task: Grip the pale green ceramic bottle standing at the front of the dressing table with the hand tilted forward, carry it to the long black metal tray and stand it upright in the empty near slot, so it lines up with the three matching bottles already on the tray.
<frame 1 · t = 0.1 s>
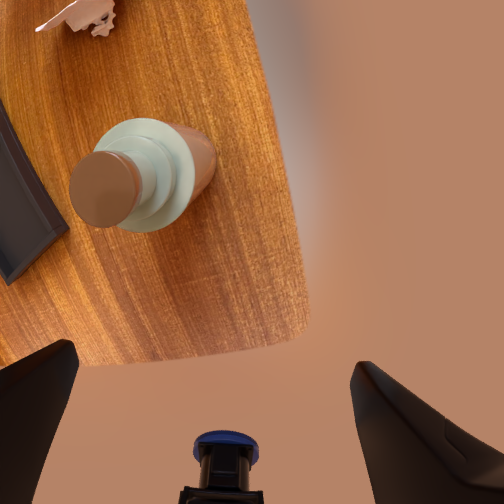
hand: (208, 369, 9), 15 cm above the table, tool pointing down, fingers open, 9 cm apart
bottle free: (180, 162, 21), on the table
pale pink ornate lid: (99, 13, 17), on the table
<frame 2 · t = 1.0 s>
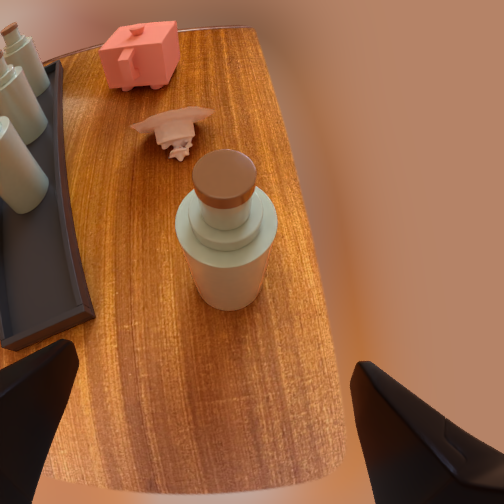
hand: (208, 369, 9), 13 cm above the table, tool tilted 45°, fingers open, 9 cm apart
tray: (31, 161, 28), on the table
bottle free: (228, 277, 24), on the table
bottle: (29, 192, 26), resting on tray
pale pink ornate lid: (176, 143, 29), on the table
bottle middle: (31, 131, 29), resting on tray
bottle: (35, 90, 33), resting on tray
pink cube teapot: (148, 76, 34), on the table
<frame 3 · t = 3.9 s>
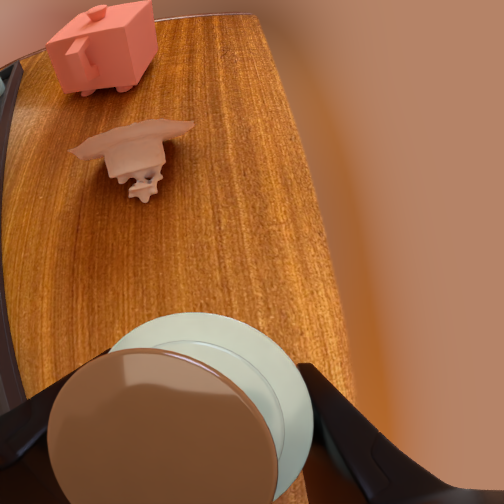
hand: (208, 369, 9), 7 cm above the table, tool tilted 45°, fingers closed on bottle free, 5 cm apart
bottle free: (217, 402, 14), on the table, touching gripper
pale pink ornate lid: (141, 172, 20), on the table
pink cube teapot: (116, 75, 25), on the table
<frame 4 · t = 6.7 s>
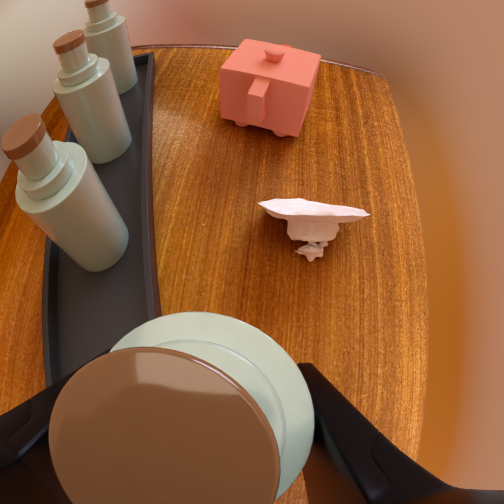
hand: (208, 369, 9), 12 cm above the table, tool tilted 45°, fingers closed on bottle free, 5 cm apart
tray: (104, 190, 26), on the table
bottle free: (218, 402, 14), point 6 cm above the table, touching gripper
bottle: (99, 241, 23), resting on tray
pale pink ornate lid: (304, 229, 25), on the table
bottle middle: (107, 144, 27), resting on tray
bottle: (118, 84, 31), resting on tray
pink cube teapot: (268, 112, 31), on the table
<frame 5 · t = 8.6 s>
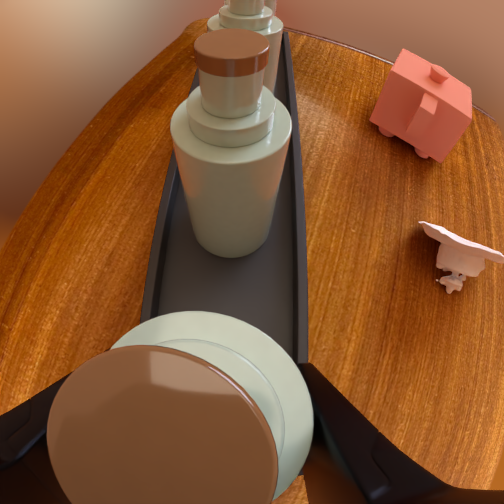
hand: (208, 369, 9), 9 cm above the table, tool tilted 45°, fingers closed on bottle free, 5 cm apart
tray: (236, 163, 23), on the table
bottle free: (217, 401, 14), point 3 cm above the table, touching gripper
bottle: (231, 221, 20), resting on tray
pale pink ornate lid: (443, 259, 21), on the table
bottle middle: (241, 112, 25), resting on tray
pink cube teapot: (408, 129, 27), on the table
when the fingers open (7 cm above the table, at t = 9.7 s): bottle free stays where it is, resting on tray.
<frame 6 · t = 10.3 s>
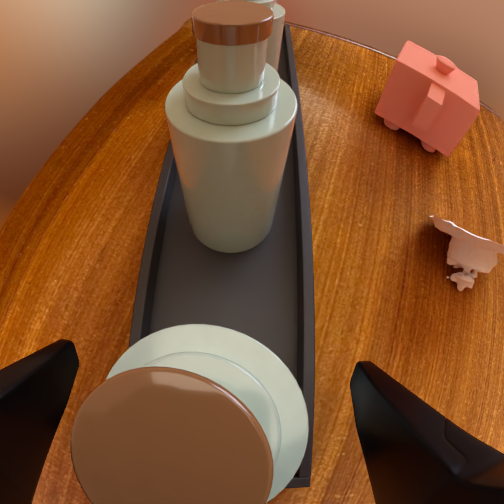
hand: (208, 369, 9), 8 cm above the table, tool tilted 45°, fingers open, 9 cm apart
tray: (236, 155, 22), on the table
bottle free: (218, 404, 14), point 1 cm above the table, touching tray
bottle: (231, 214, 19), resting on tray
pale pink ornate lid: (453, 255, 20), on the table
bottle middle: (241, 103, 24), resting on tray
pink cube teapot: (413, 123, 26), on the table
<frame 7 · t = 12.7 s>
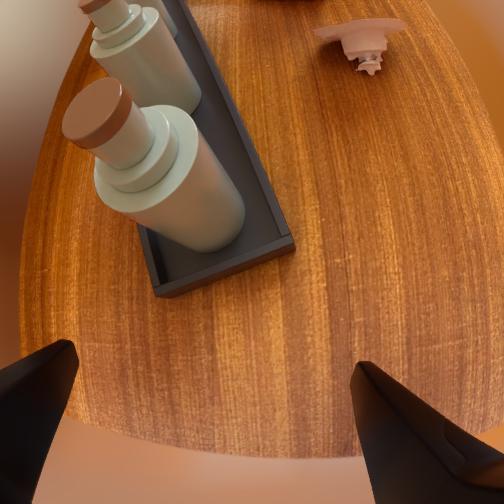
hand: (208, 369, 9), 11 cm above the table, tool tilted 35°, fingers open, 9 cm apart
tray: (165, 69, 25), on the table
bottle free: (207, 215, 21), point 1 cm above the table, touching tray
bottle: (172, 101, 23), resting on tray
pale pink ornate lid: (357, 55, 22), on the table
bottle middle: (155, 39, 26), resting on tray
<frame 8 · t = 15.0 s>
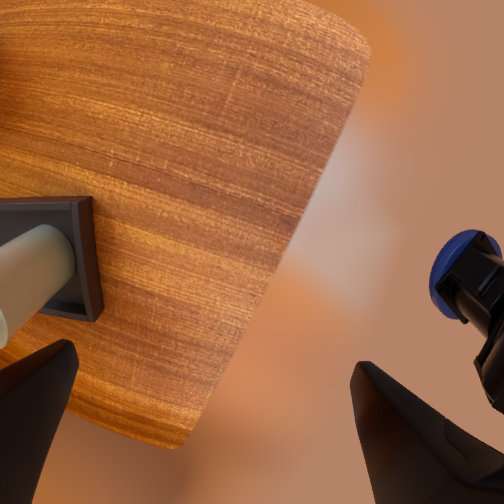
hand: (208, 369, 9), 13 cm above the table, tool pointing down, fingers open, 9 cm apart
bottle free: (49, 255, 21), point 1 cm above the table, touching tray
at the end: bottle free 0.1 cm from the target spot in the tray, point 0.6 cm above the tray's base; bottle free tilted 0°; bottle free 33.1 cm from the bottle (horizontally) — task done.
